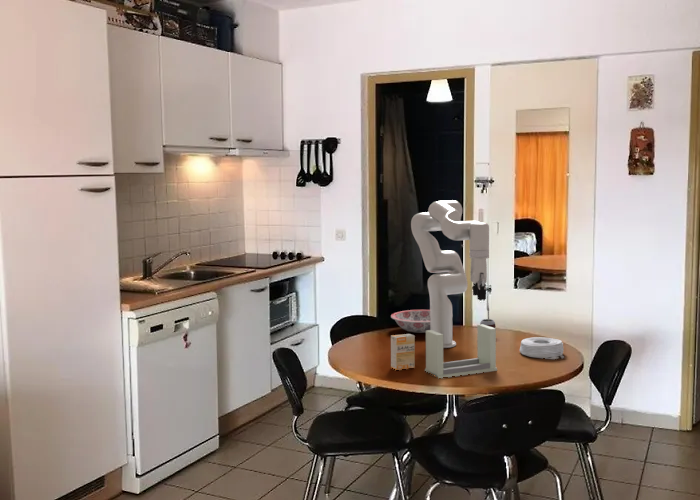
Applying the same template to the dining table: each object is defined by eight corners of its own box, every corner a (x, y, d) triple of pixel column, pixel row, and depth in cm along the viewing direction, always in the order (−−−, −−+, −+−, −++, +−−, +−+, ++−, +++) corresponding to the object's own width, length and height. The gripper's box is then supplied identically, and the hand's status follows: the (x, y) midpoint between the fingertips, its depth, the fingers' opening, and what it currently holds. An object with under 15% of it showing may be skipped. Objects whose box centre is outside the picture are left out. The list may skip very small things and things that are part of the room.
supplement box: (396, 371, 276) (395, 337, 275) (390, 368, 281) (390, 335, 279) (415, 368, 280) (415, 335, 278) (409, 365, 284) (409, 332, 283)
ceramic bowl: (387, 326, 358) (387, 310, 357) (446, 324, 360) (446, 308, 359) (394, 339, 329) (394, 322, 329) (458, 337, 331) (458, 320, 330)
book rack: (424, 371, 275) (424, 330, 274) (481, 363, 285) (481, 323, 283) (439, 378, 265) (438, 335, 263) (497, 370, 274) (497, 329, 273)
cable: (565, 360, 288) (565, 345, 287) (520, 359, 291) (520, 344, 291) (561, 350, 305) (561, 336, 304) (519, 349, 308) (519, 335, 308)
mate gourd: (486, 339, 325) (486, 306, 324) (475, 336, 332) (475, 304, 330) (499, 337, 329) (499, 305, 327) (487, 334, 336) (487, 302, 334)
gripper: (465, 252, 292) (466, 293, 294) (473, 256, 275) (473, 301, 277) (484, 251, 292) (484, 293, 294) (493, 256, 275) (493, 300, 277)
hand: (479, 297), depth 286 cm, fingers open, 9 cm apart
